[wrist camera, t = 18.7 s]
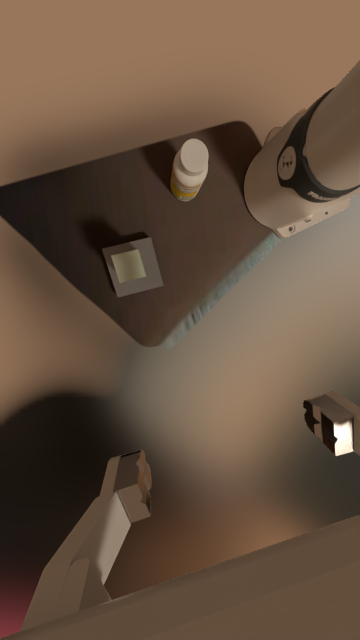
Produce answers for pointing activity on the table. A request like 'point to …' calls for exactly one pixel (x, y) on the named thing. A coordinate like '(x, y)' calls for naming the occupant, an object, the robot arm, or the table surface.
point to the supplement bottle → (189, 169)
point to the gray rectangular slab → (149, 261)
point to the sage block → (129, 265)
